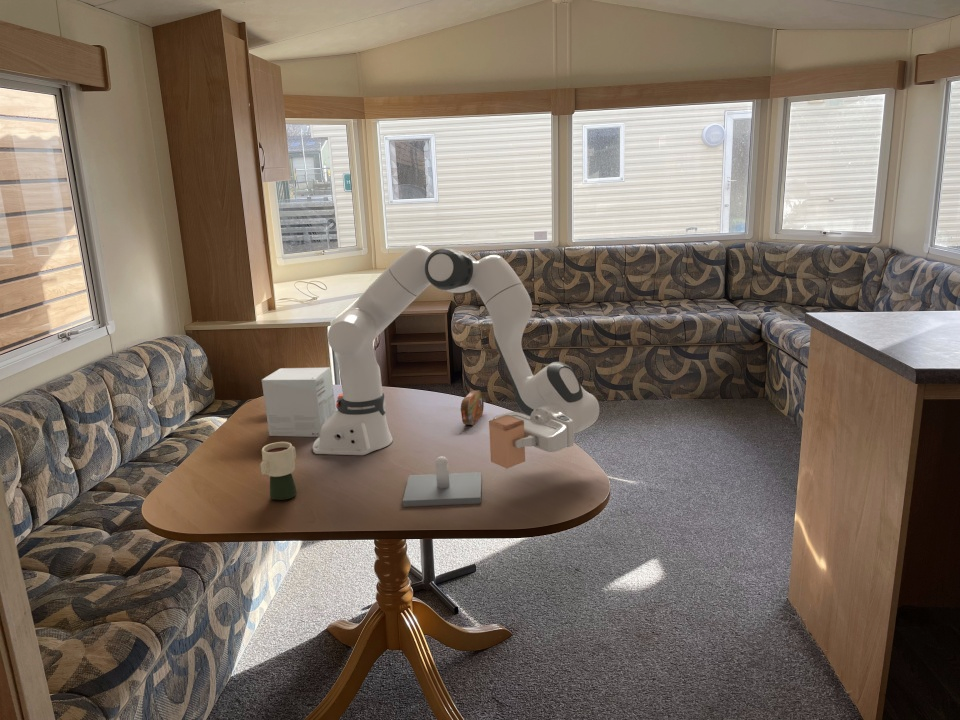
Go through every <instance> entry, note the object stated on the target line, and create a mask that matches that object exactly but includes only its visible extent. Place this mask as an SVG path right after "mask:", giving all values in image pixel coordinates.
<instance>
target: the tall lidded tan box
mask: <svg viewBox="0 0 960 720" xmlns="http://www.w3.org/2000/svg"><path fill="white" fill-rule="evenodd" d="M488 426H489V427H488V429H489V449H490V452H489V453H490V462H491V463H493V464H495V465H498V466H500V467H502V468H505V469H507V470H508V469H510V468H512V467H515V466H517V465H519V464H521V463H525V462H526V447H520V448H516V447H514V446H513V440H514V439H516V438H524V420H521V419H518V418H515V417H512V416H509V415H505V416H502V417H499V418H496V419H493V418H492V419H490V420H488Z"/></svg>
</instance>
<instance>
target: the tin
mask: <svg viewBox="0 0 960 720" xmlns="http://www.w3.org/2000/svg"><path fill="white" fill-rule="evenodd" d="M460 404H461V405H460V414H461V421H462V423H463V424H464V426H474V425H475V424H476V423H477V422H478V421H479V420H480V418H481V417H482V415H483V413H484V397H483V393H482V391H481V390H471V391H469V392H468V394H467V395H466V396H465V397H464V398H463V399H462V401H461V403H460Z"/></svg>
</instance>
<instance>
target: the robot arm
mask: <svg viewBox="0 0 960 720" xmlns="http://www.w3.org/2000/svg"><path fill="white" fill-rule="evenodd" d="M431 285H432V286H433V287H435V288H436V289H438V290H441V291H445V292H448V293H452V294H457V293H458V294H470V293H472V292H474V291H475V292H476V293H477V294H478V296H479V297H480V299H481V301H482V302H483V304H484V306H485V308H486V309H487V312H488V315H489V316H490V317H489V318H490V320H491V323H492V328H493V339H494V343H495V346H496V348H497V351H498V353H499V356H500V358H501V360H502V363H503V365H504V368H505V371H506V373H507V375H508V378H509V380H510V382H511V385H512V388H513V393H514V398H515V402H516V404H517V406H518V408H519V409H520V411H522V412H518V411H510V412H505V413H502V414H499V415H495V416H493V418H492V420H493V419H496V418H499V417H502V416H505V415H509V416H512V417H515V418H518V419H521V420H524V438H516V439H514V440H513V446H514V447H516V448H520V447H525V448H527V447H533V448H537V449H539V450H542V451H545V452H547V453H555V452H559V451H561V450H563V449H566V448H570V447H573V446H574V442H575V434H576V433H579V432H581V431H583V430H586V429H587V428H589V427H591V426H592V425H593V424H594V423H595V422H596V421H597V420H598V418H599V415H600V404H599V401H598V399H597V397H596V396H595V395H593V394H592V393H591V392H590V393H589V392H588V391H586V389H585V388H584V387H583V386H582V385H581V383H580V379H579V377H578V375H577V373H576V372H575V371H574V370H573V367H571V366H569V365H568V364H566V363H564V362H561V361H552V362H551V363H549V364H548V365H546V366H545V367H543V368H541V370H539V371H538V372H537V373H536V374H533V372H532V370H531V367H530V365H529V362H528V360H527V358H526V355H525V353H524V351H523V347H522V338H523V335H524V332H525V330H526V327H527V326H528V323H529V321H530V319H531V316H532V312H533V311H532V310H533V303H532V300H531V296H530V295H529V293H528V290H527V289H526V288H525V286H524V283H523V282H522V281H521V279H520V277H519V276H518V275H517V273H516V272H515V270H514V269H513V268H512V266H511V265H510V264H509V263H508V262H507V260H506V259H504V258H503V256H502V255H498V254H490V255H486V256H484V257H482V258H480V259H478V258H477V257H475V256H474V255H472V254H469V253H467V252H465V251H464V250H459V249H457V250H456V249H454V248H450V247H443V248H438V249H435V250H432V249H431V248H430V247H429V246H425V245H421V244H418V245H417V244H416V245H414V246H412V247H411V248H409V249H408V250H407V251H405V252H404V253H402V254H401V255H400V256H398V257H397V258H396V259H395V260H393V262H392V263H391V264H390V265H388V266H387V268H386V269H385V270H384V271H383V272H381V274H380V275H379V276H378V277H377V278H376V279H375V280H374V281H373V282H372V283H371V284H370V285H369V286H368V287H367V289H366V290H365V291H364V292H363V293H362V295H360V297H359V298H358V299H357V300H356V301H355V302H354V303H353V305H351V306H350V307H349V308H348V309H347V310H345V312H343V313H342V314H341V315H339V316H337V318H335V319H334V320H333V321H332V323H331V325H330V326H329V330H328V332H327V341H328V345H329V347H331V349H332V350H333V353H334V356H335V360H336V363H337V365H338V369H339V373H340V374H339V375H340V382H341V391H342V393H340V394H339V395H338V397H337V399H336V402H335V408H336V409H337V410H336V412H335V413H334V414H333V415H332V416H331V417H329V418H328V419H327V420H326V421H325V422H324V423H323V425H322V427H321V431H320V437H317V438H316V439H315V440H314V443H313V444H312V452H313V453H314V454H316V455H338V456H339V455H341V456H345V455H346V456H347V455H348V456H365V455H367V454H369V453H372V452H374V451H377V450H381V449H383V448H386V447H387V446H389V445H390V444H392V442H393V439H394V438H393V437H392V435H391V431H390V429H389V424H388V421H387V417H386V412H387V411H386V410H387V404H386V398H385V393H384V392H383V385H382V376H381V367H380V365H379V363H378V361H377V358H376V354H375V351H374V340H375V339H377V337H378V336H380V334H381V333H382V332H383V331H385V329H386V328H388V326H390V324H392V323H393V322H394V321H395V320H396V318H397V317H399V316H400V315H401V313H403V312H404V310H406V309H407V308H408V307H409V305H411V303H413V302H414V301H415V300H416V299H417V298H418V297H419V296H420V295H422V293H423V292H424V291H425V290H426V289H427V288H428V287H429V286H431Z"/></svg>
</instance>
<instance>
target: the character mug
mask: <svg viewBox="0 0 960 720" xmlns="http://www.w3.org/2000/svg"><path fill="white" fill-rule="evenodd" d="M261 455H262V456H261V458H262V461H261V462H260V471H261V474H262V475H264V476H266V475H267V476H268V477H269V497H270V499H271V500H276V501H277V500H279V501H280V500H283V501H284V500H288V499H292V498H294V497H295V496H296V494H297V493H298V492H297V487H296V484H295V480H294V478H293V472H294V471H295V469H296V465H295V464H296V462H295V460H296V459H297V453H296V447H295V446H293V445H292V443H291V442H289V441H278V442H272V443H269V444H266V445H264V446H263V447H262V449H261Z"/></svg>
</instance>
